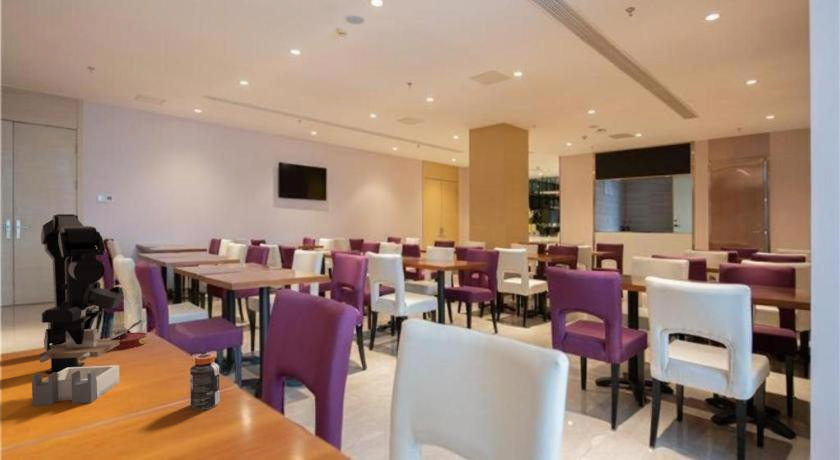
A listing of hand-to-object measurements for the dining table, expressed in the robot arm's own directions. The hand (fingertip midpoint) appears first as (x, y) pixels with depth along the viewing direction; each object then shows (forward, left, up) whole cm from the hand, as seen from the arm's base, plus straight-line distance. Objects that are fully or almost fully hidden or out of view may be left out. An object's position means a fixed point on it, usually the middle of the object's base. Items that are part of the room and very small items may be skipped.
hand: (81, 343), depth 106 cm
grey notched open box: (+1, 0, -12) cm, 12 cm away
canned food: (-40, -8, -12) cm, 43 cm away
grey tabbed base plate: (+1, 0, -2) cm, 2 cm away
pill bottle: (+12, +32, -12) cm, 36 cm away
